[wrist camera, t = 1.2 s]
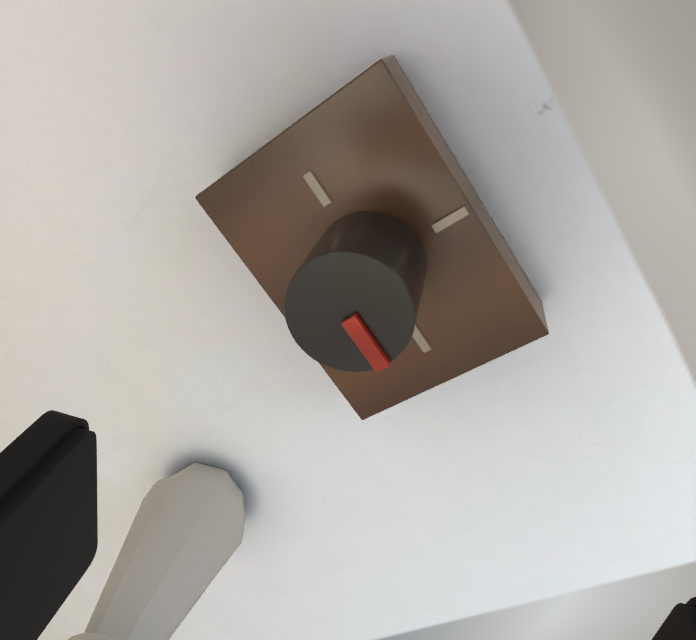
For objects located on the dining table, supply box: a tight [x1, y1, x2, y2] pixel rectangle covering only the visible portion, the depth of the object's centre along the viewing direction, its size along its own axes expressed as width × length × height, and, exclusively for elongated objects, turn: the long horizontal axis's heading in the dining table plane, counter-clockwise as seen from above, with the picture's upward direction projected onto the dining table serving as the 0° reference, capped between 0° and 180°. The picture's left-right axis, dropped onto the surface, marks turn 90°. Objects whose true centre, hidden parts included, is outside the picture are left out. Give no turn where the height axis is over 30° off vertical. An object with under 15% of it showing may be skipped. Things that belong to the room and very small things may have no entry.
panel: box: [195, 55, 549, 420], centre depth 25 cm, size 12×9×3 cm
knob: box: [284, 212, 426, 372], centre depth 22 cm, size 4×4×5 cm
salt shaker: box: [68, 463, 245, 640], centre depth 29 cm, size 6×6×13 cm
